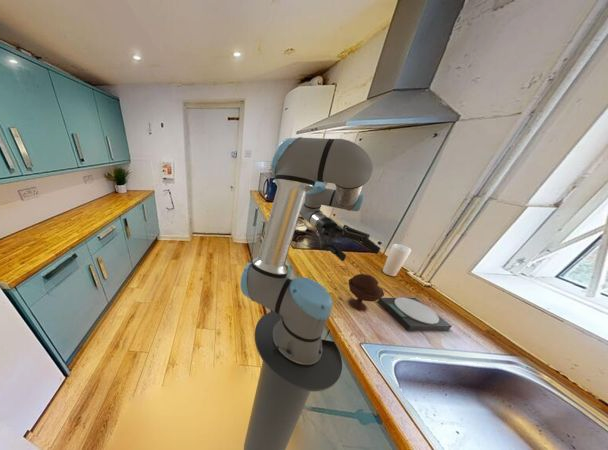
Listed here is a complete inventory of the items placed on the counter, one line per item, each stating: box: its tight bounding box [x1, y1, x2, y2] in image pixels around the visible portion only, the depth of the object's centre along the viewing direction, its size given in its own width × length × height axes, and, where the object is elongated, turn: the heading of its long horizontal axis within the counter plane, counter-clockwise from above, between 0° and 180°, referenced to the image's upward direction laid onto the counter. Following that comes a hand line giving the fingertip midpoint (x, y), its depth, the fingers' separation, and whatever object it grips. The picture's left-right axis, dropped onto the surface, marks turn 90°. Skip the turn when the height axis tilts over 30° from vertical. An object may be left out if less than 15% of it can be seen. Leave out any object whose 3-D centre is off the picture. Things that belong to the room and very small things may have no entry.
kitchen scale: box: [377, 297, 452, 332], centre depth 74 cm, size 15×13×3 cm
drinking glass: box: [382, 243, 412, 277], centre depth 95 cm, size 7×7×15 cm
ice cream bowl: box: [348, 273, 385, 311], centre depth 76 cm, size 11×11×15 cm
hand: (361, 254), depth 71 cm, fingers open, 13 cm apart
